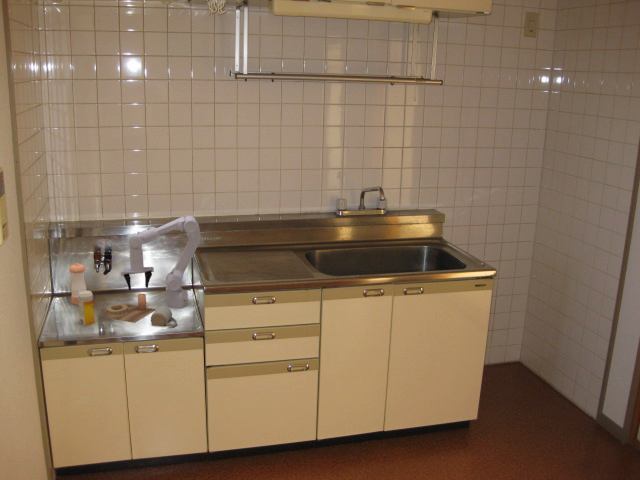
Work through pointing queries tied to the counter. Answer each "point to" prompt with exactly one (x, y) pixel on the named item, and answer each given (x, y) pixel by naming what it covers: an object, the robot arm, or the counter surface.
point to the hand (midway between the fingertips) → (138, 288)
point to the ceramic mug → (162, 317)
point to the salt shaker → (77, 281)
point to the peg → (142, 302)
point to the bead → (117, 310)
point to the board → (132, 314)
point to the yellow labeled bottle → (86, 307)
